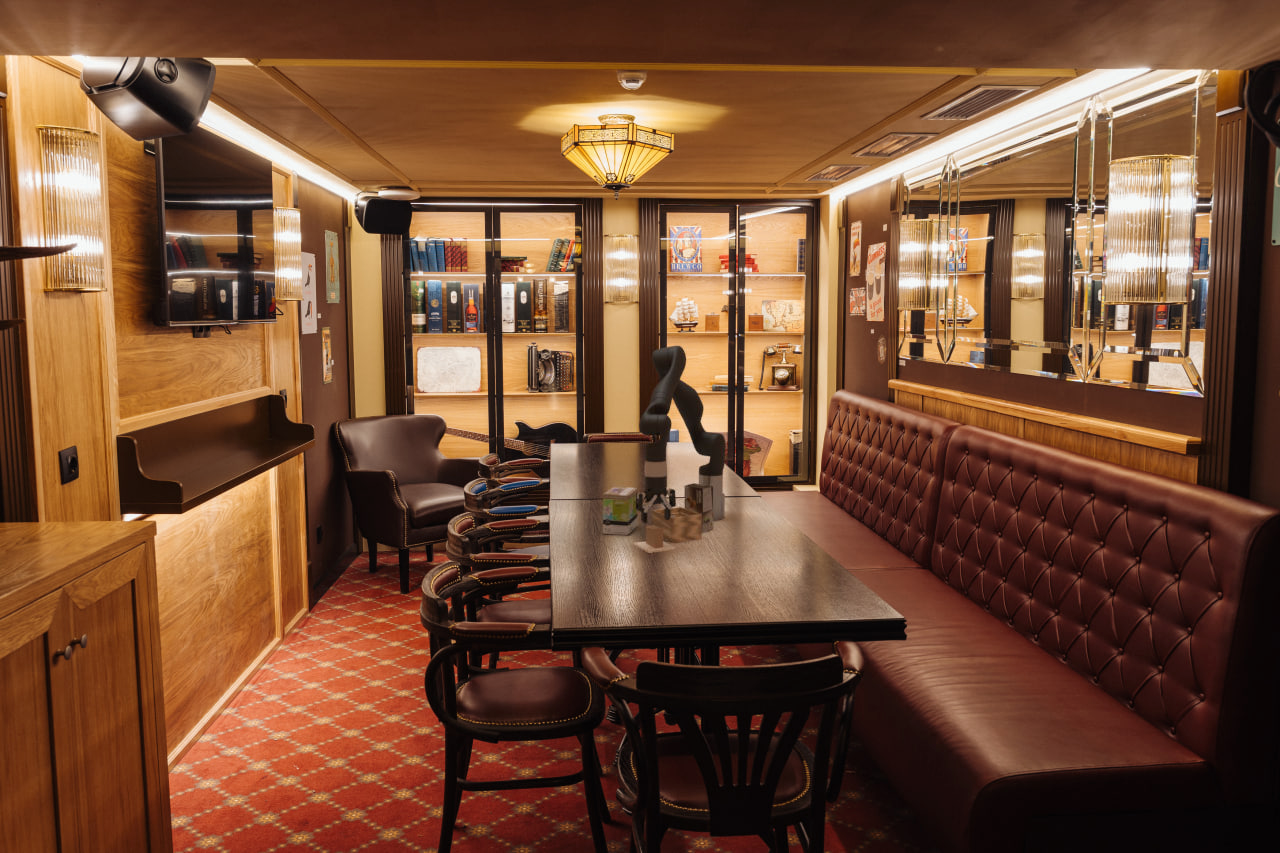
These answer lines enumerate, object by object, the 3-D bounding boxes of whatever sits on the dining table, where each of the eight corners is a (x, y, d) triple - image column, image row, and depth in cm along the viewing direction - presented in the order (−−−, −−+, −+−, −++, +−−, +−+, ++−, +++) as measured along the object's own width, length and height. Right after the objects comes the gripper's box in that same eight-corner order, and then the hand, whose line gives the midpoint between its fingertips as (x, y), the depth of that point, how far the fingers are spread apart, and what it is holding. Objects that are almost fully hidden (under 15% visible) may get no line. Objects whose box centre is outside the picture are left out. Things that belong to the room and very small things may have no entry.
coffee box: (713, 529, 323) (714, 486, 321) (702, 532, 318) (703, 488, 316) (694, 525, 329) (694, 482, 327) (683, 528, 324) (683, 485, 322)
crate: (680, 530, 321) (681, 507, 320) (701, 538, 309) (701, 514, 308) (652, 534, 315) (652, 510, 314) (672, 542, 303) (672, 518, 302)
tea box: (629, 535, 313) (629, 494, 311) (602, 534, 315) (601, 493, 313) (638, 525, 328) (638, 486, 326) (611, 524, 330) (611, 485, 328)
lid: (659, 542, 305) (659, 522, 304) (675, 550, 294) (676, 530, 294) (633, 545, 301) (633, 525, 300) (648, 554, 290) (648, 533, 289)
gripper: (668, 470, 301) (668, 516, 303) (631, 474, 294) (632, 521, 296) (679, 473, 294) (679, 521, 297) (642, 477, 288) (642, 526, 290)
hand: (655, 521), depth 297 cm, fingers open, 8 cm apart
